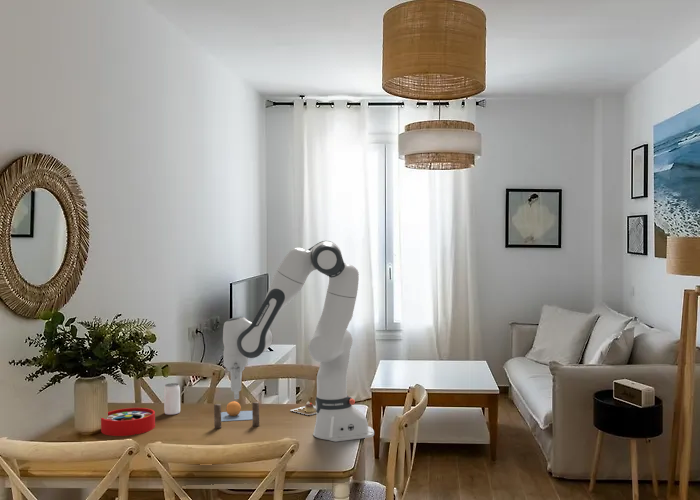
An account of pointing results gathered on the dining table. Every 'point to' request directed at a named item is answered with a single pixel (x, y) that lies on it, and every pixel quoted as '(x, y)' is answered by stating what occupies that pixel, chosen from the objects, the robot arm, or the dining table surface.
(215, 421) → the left post
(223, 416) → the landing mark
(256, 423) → the right post
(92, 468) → the dining table surface
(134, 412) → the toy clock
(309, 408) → the dessert
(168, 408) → the can
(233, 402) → the ball
